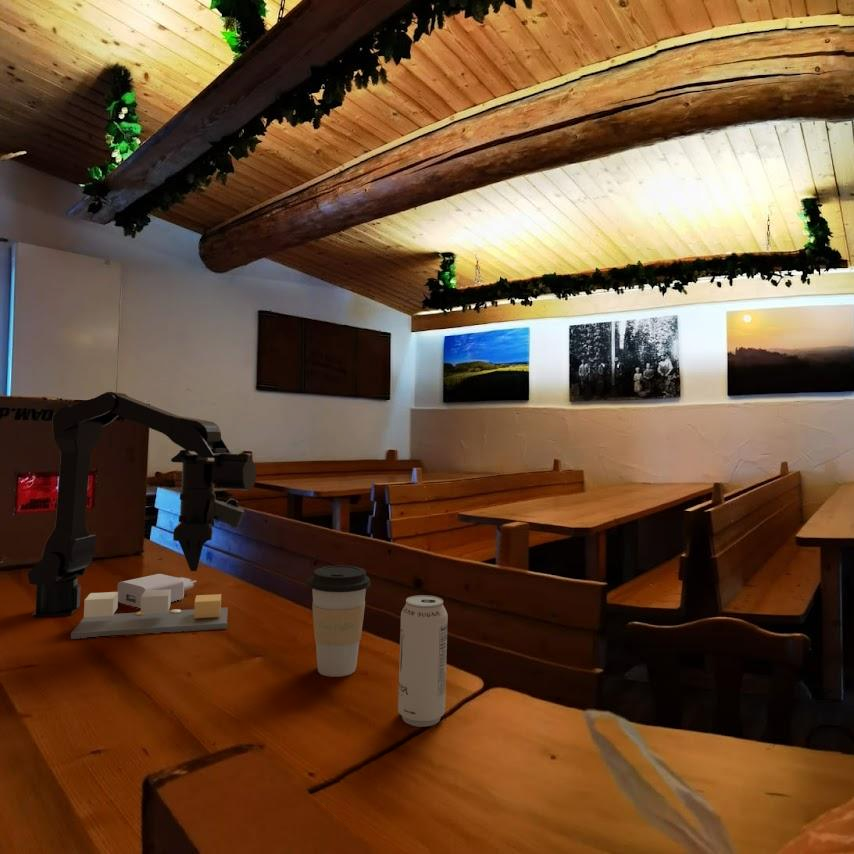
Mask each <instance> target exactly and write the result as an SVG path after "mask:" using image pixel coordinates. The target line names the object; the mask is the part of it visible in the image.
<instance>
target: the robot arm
mask: <svg viewBox="0 0 854 854" xmlns="http://www.w3.org/2000/svg"><path fill="white" fill-rule="evenodd" d="M118 417H120V418H123V419H126V420H128V421H131V422H133V423H136V424H138V425H140V426H144V427H146V428H148V429H150V430H154V431H156V432H159V433H161V434H163V435H165V436H166V437H167V438H168V439H169V440H170V441H172V443H174V444H176V445H177V446H179V447H180V448H182V449H181V450H179V452H177V454H176V455H174V456H173V457H172V458H171V460H170V462H171V463H180V464H181V463H182V465H181V466H182V471H181V486H180V487H181V490H180V493H179V500H180V505H179V506H180V509H179V511H180V512H179V516H178V524H177V525H176V526H175V527H174V528H173V537H172V538H173V539H172V541H175V542H178V543H179V546H180V547H181V550H182V552H183V555H184V557H185V559H186V563H187V565H188V568H189V571H190V572H197V571H198V568H199V564H200V559H201V555H202V551H203V547H204V544H205V543H207V542H208V541H211V540H213V539H212V538H213V533H214V529H213V527H215V524H216V521H219V522H222V523H225V524H228V525H230V527H232V528H233V527H234V528H237V529H238V527H239V526H240V523H241V521H242V519H243V516H244V514H245V510H244V509H243V508H242V507H239V503H238V500H236V499H233V498H229V499H228V500H227V501H226V502H224V501H221V500H218V499H216V497H217V495H216V493H215V485H216V487H217V488H218V489H221V490H235V491H236V490H238V491H251V490H252V489H253V487H254V485H255V484H256V480H257V470H256V466H255V463H254V460H253V454H252V453H232V451H231V450H230V449H229V446H228V445H227V444H226V442H225V440H224V439H223V438H222V433H221V429H220V426H219V425H218V424H216V423H215V421H211V420H206V419H205V420H204V419H199V418H194V417H187V416H181V415H178V414H174V413H172V412H169V411H167V410H164V409H162V408H159V407H157V406H154V405H151V404H149V403H146V402H144V401H141V400H139V399H136V398H133V397H131V396H128V394H126V393H123V392H116V391H115V392H114V391H107V392H104V393H102V394H100V395H98V396H96V397H94V398H90V399H87V400H84V401H79V402H77V403H75V404H73V405H66V406H65V405H64V406H62V407H60V408H58V409H57V411H55V412H54V413H53V416H52V419H51V420H52V421H51V423H52V433H53V434H52V435H53V440H54V442H55V443H56V445H57V447H58V449H59V451H60V461H59V463H60V464H59V475H58V489H57V501H56V513H55V516H56V517H55V524H54V529H53V530H52V531H51V533H50V535H49V536H48V538H47V540H46V541H45V544H44V548H43V552H42V555H41V559H40V561H39V562H37V563H36V564H35V566H33V568H31V569H30V570H29V571H28V573H27V578H28V582H29V585H34V586H35V585H36V593H35V594H36V595H35V598H36V599H35V611H34V612H33V613H32V614H31V616H32V618H41V617H43V618H44V617H57V616H59V617H60V616H61V617H62V616H71V615H72V614H73V613H74V612H76V611H77V609H78V608H79V607H80V606H81V591H82V590H81V589H82V587H81V584H78V579H79V577H82V576H84V575H85V572H86V570H87V567H88V566H89V565H90V564H91V563H92V561H93V559H94V556H96V555H97V552H96V544H97V543H96V542H97V535H96V534H90V533H89V532H88V529H87V527H86V516H87V515H86V514H87V501H88V491H89V490H88V488H89V475H90V463H91V453H92V451H93V450H94V448H95V447H96V445H97V443H98V442H99V440H100V438H101V433H102V429H103V428H104V427H105V426H107V425H109V424H111V423H113V422H115V420H116V419H117V418H118ZM191 452H194V453H195V454H194V453H191ZM212 459H213V460H212Z"/></svg>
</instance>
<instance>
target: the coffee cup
mask: <svg viewBox="0 0 854 854" xmlns="http://www.w3.org/2000/svg"><path fill="white" fill-rule="evenodd" d="M308 581H309V583H308V584H307V585H308V587H309V588H311V589H312V590H311V591H312V603H311V607H312V621H313V636H314V640H315V650H316V663H317V664H316V665H317V672H318V673H319V674H320V675H321V676H326V677H331V678H333V677H334V678H335V677H336V678H337V677H338V678H339V677H340V678H341V677H346V676H351V675H352V674H353V673H355V671H356V669H357V662H358V654H359V647H360V646H359V645H360V641H361V638H362V631H363V623H364V615H365V608H366V599H365V598H366V593H367V592H366V591H367V588H369V587H370V586H371V582H370V581H371V578H370V577H369V576H367V571H366V570H365V569H364V568H362V567H358V566H353V565H327V566H323V567H318V568H316V569H314V571H313V576H311V577H310V578H309V580H308Z"/></svg>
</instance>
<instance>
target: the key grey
mask: <svg viewBox="0 0 854 854" xmlns="http://www.w3.org/2000/svg"><path fill="white" fill-rule="evenodd" d="M171 604H172V603H171V589H167V590H146V591H144V593H143V595H142V596H141V609H140V611H141V614H147V613H164V612H168V611H170V607H171Z"/></svg>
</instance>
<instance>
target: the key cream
mask: <svg viewBox="0 0 854 854" xmlns="http://www.w3.org/2000/svg"><path fill="white" fill-rule="evenodd" d="M83 601H84V602H83V604H84V605H83V618H84V617H96V616H113V614H116V611H117V609H118V608H119V607H118V604H119V603H118V592H117V591H109V592H107V591H106V592H90V593H89V594H88V595H87V596H86V598H85V599H84V600H83Z"/></svg>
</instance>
